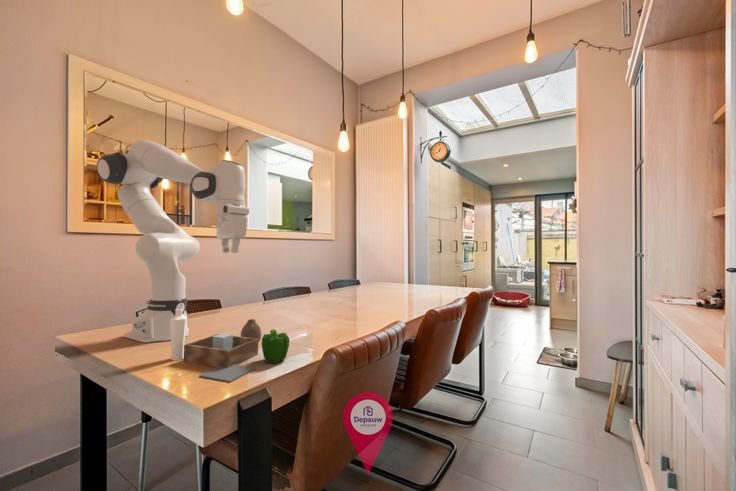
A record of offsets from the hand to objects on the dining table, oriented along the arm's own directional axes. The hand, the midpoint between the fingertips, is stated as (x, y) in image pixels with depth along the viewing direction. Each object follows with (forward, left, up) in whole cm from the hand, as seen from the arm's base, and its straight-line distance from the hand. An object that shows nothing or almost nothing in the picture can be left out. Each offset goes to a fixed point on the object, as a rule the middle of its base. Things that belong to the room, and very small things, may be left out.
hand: (230, 252), depth 106 cm
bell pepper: (+18, 0, -33) cm, 38 cm away
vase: (+1, +11, -33) cm, 34 cm away
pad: (+12, -13, -33) cm, 37 cm away
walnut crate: (+2, -4, -33) cm, 33 cm away
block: (+2, -4, -33) cm, 33 cm away
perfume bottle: (-10, -9, -33) cm, 35 cm away
